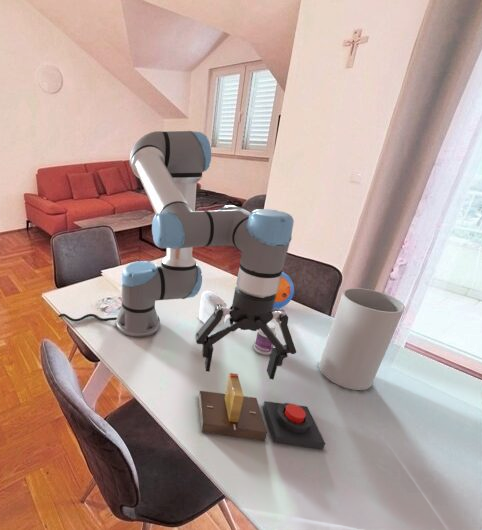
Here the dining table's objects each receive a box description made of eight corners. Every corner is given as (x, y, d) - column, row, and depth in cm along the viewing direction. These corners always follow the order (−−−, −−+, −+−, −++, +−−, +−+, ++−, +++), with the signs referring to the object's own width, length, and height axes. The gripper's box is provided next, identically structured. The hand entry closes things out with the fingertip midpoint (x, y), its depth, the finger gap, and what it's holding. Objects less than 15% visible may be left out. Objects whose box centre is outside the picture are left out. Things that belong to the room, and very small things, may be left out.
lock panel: (201, 434, 72) (203, 425, 71) (197, 397, 83) (199, 388, 81) (265, 444, 70) (268, 434, 69) (253, 404, 80) (256, 395, 79)
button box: (274, 443, 70) (278, 430, 69) (262, 407, 79) (265, 395, 78) (322, 450, 69) (327, 437, 67) (305, 412, 78) (309, 401, 76)
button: (287, 422, 71) (289, 416, 71) (282, 408, 75) (283, 402, 74) (306, 424, 71) (308, 419, 70) (300, 410, 74) (301, 405, 74)
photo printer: (224, 330, 110) (229, 299, 105) (214, 333, 108) (219, 302, 103) (205, 315, 119) (209, 286, 114) (196, 318, 117) (200, 289, 112)
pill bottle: (273, 356, 97) (280, 330, 93) (255, 354, 98) (261, 328, 94) (269, 345, 102) (275, 320, 98) (252, 343, 103) (257, 318, 99)
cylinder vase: (361, 365, 93) (391, 292, 83) (378, 396, 83) (415, 316, 73) (313, 356, 97) (336, 285, 87) (324, 385, 86) (352, 307, 76)
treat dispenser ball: (283, 298, 130) (291, 265, 124) (294, 318, 116) (304, 282, 110) (243, 294, 133) (250, 261, 127) (250, 313, 120) (257, 277, 114)
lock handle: (238, 422, 72) (244, 395, 69) (229, 421, 72) (234, 394, 69) (232, 398, 78) (238, 373, 75) (224, 397, 78) (229, 372, 75)
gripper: (316, 285, 63) (291, 366, 72) (190, 275, 67) (181, 353, 76) (333, 304, 57) (303, 391, 65) (192, 292, 61) (182, 376, 69)
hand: (237, 371), depth 71 cm, fingers open, 13 cm apart
